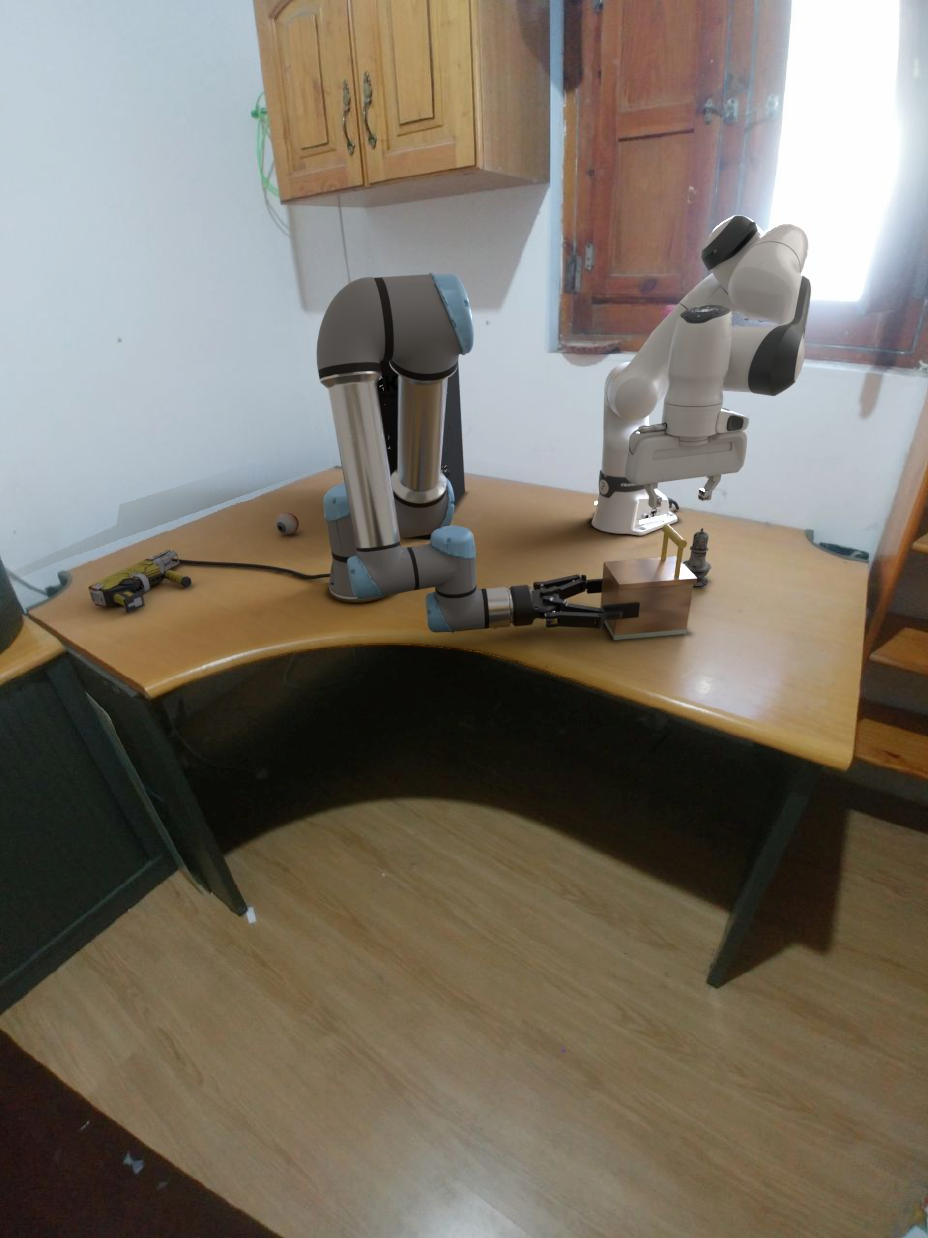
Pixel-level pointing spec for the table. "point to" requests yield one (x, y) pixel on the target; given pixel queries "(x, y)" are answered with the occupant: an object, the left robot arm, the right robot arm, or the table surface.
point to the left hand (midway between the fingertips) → (629, 596)
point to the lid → (653, 567)
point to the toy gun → (136, 582)
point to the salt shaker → (699, 558)
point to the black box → (451, 434)
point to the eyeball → (287, 523)
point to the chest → (648, 609)
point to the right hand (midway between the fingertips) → (679, 503)
